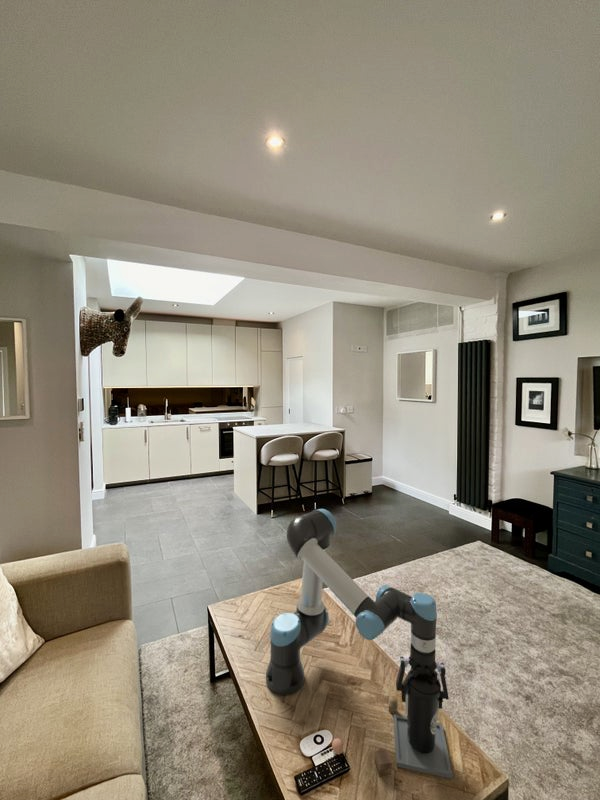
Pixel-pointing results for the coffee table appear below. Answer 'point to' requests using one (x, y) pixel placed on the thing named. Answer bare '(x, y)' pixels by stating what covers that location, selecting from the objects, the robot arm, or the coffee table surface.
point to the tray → (418, 761)
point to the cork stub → (393, 705)
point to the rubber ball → (337, 746)
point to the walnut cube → (383, 763)
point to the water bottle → (422, 711)
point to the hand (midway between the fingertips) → (421, 713)
